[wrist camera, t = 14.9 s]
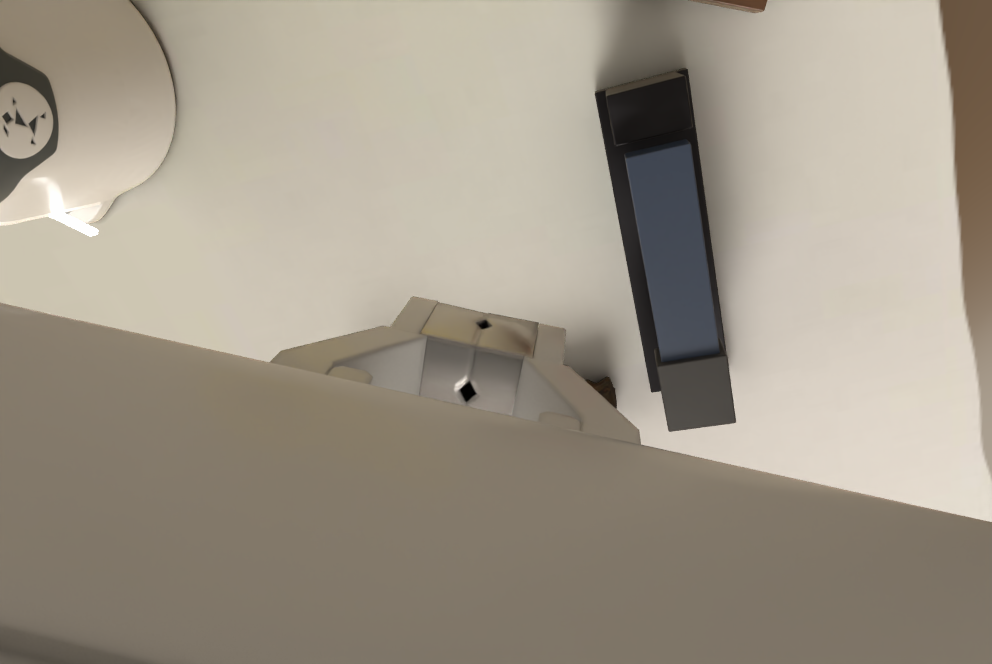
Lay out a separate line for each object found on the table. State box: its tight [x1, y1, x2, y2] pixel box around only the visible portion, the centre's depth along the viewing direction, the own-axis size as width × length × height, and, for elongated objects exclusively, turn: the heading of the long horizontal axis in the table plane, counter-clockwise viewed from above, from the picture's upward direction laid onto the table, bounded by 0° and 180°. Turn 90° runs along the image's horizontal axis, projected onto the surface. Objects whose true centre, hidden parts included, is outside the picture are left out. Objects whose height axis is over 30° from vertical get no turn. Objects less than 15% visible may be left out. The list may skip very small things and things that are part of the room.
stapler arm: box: [625, 139, 736, 432], centre depth 35 cm, size 16×4×2 cm, turn 15°
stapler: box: [595, 68, 726, 392], centre depth 39 cm, size 20×5×6 cm, turn 15°
